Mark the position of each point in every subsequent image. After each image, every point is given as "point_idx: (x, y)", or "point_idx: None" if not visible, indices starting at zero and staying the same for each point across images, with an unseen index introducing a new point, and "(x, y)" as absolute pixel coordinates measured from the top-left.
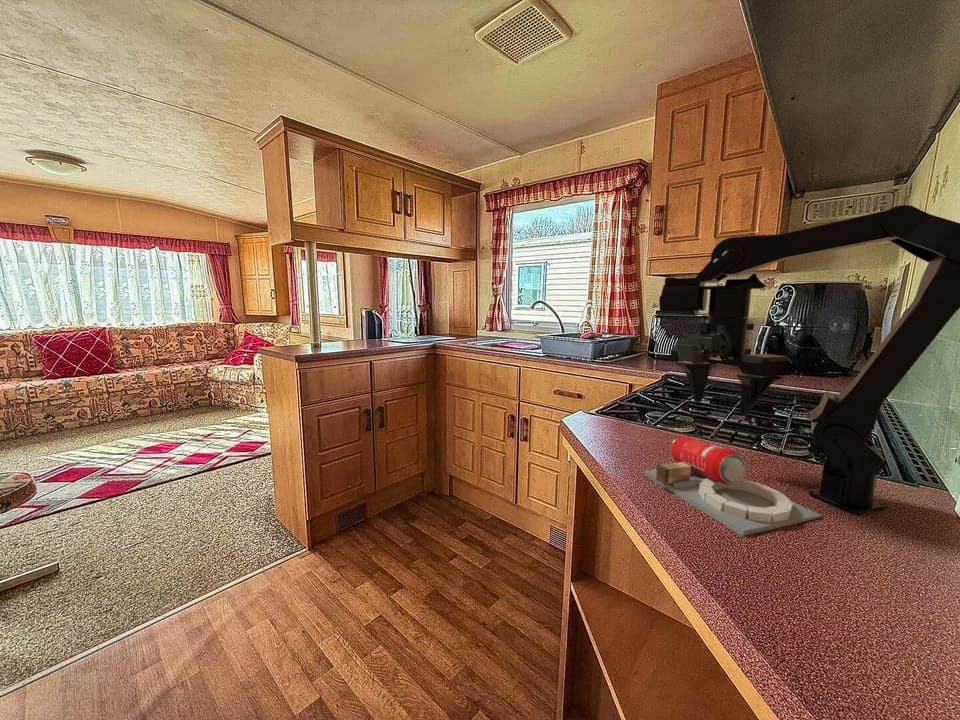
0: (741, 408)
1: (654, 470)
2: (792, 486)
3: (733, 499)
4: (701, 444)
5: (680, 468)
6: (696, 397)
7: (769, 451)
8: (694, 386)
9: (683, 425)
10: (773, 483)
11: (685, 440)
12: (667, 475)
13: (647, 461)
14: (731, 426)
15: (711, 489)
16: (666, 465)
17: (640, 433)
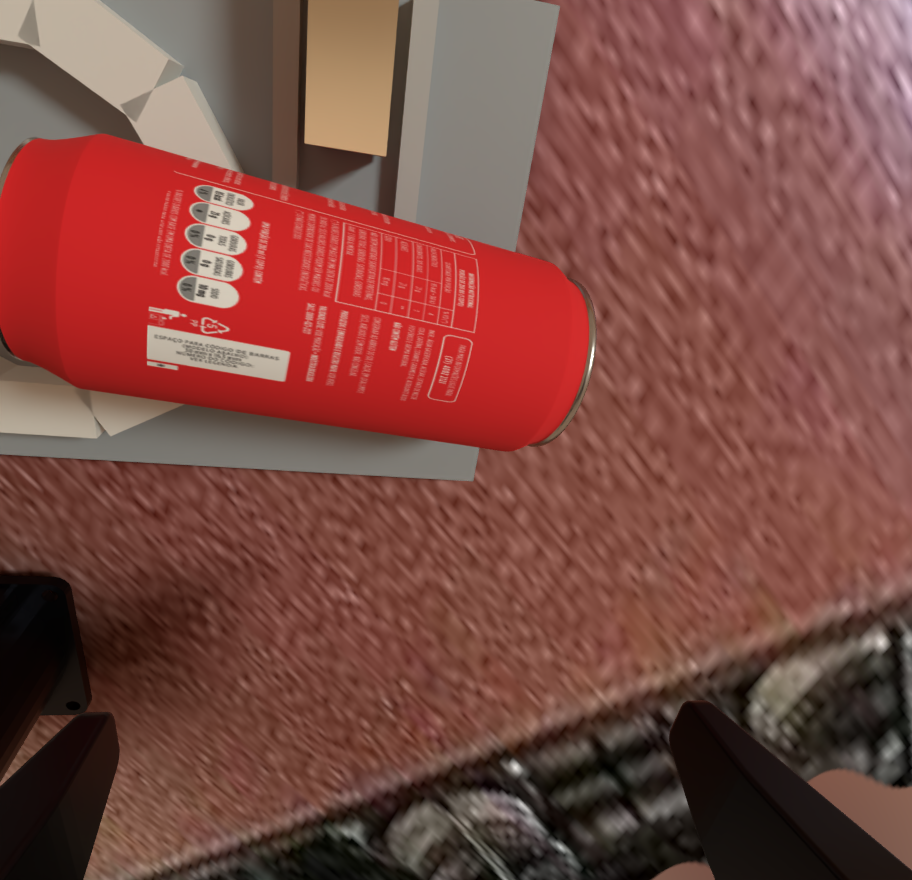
0: (32, 784)
1: (529, 85)
2: (188, 608)
3: None
4: (335, 308)
5: (308, 34)
6: (713, 742)
7: (464, 780)
8: (835, 873)
9: (804, 722)
10: (232, 569)
11: (501, 328)
12: None
13: (664, 228)
14: (681, 841)
15: (91, 76)
16: None
17: (892, 502)
